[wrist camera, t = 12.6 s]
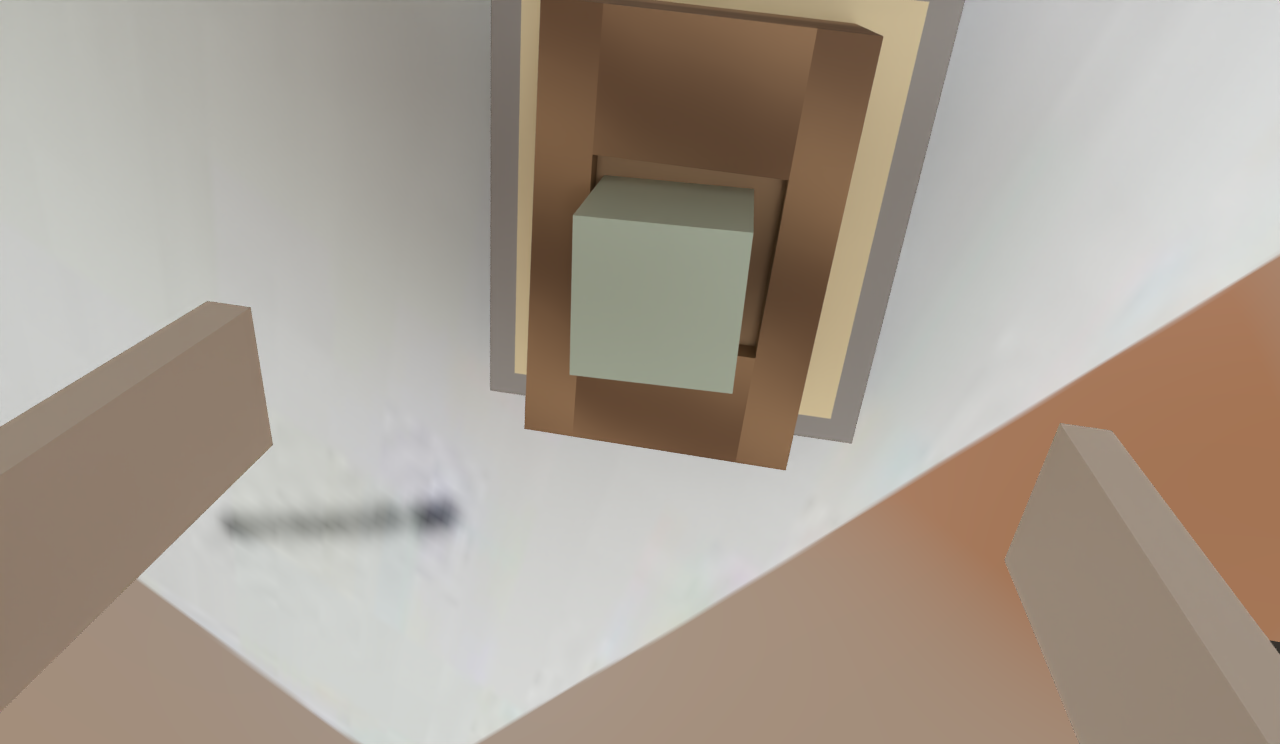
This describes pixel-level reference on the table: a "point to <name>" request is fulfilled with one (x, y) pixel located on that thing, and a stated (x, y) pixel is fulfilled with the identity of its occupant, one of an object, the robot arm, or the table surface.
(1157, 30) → the table surface
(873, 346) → the panel
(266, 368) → the table surface
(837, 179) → the brown open box
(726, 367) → the block
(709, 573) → the table surface
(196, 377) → the robot arm
